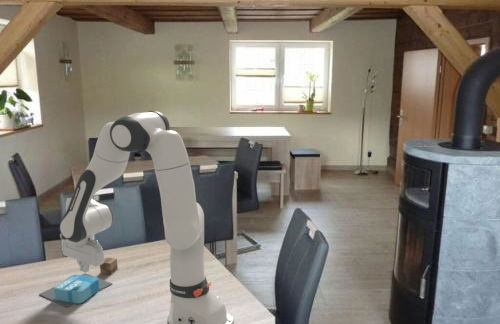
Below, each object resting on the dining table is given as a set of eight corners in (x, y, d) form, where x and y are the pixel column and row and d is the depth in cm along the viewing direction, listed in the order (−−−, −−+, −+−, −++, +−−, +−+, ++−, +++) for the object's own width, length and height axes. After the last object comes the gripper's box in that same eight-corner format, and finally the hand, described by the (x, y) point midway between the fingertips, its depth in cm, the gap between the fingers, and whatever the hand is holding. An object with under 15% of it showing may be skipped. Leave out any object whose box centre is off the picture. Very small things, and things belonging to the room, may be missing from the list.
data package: (79, 292, 149) (51, 288, 152) (80, 304, 150) (52, 299, 153) (100, 277, 160) (73, 273, 163) (101, 288, 161) (74, 284, 164)
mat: (112, 284, 165) (112, 283, 165) (66, 307, 149) (66, 306, 148) (85, 274, 174) (85, 273, 174) (39, 294, 158) (39, 293, 158)
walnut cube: (117, 269, 178) (116, 258, 177) (111, 274, 173) (110, 263, 173) (107, 268, 179) (106, 257, 178) (100, 273, 175) (99, 262, 174)
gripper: (107, 238, 151) (110, 274, 153) (72, 228, 161) (75, 261, 164) (92, 244, 145) (95, 281, 148) (57, 233, 156) (60, 267, 159)
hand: (84, 271), depth 156 cm, fingers closed
